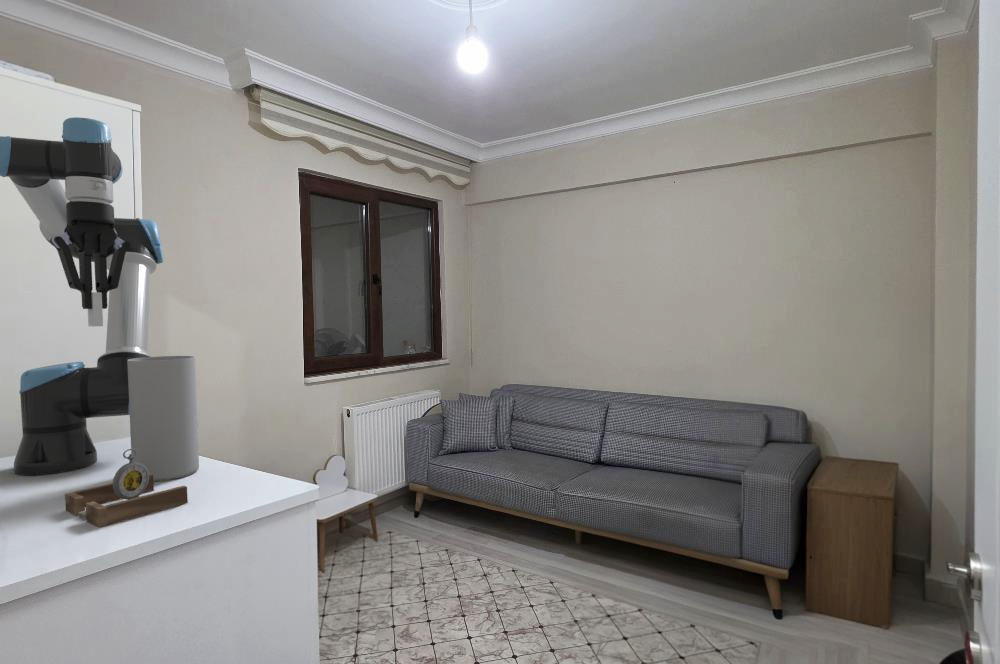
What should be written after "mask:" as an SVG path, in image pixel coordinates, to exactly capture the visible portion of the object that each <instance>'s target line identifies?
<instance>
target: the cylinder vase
mask: <svg viewBox="0 0 1000 664" xmlns="http://www.w3.org/2000/svg"><path fill="white" fill-rule="evenodd" d="M127 363H128V387H129V410H130V415H129V426H130V428H129V431H130V449H134V450H136V452H137V454H136V456H135V457H134V458H133V459H132V461H133V462H139V463H142V464H144V465H145V466H146V468H147V469H148V472H149V475H150V474H151V475H153V482H164V481H169V480H170V481H171V480H176V479H181V478H184V477H187V476H189V475H192V474H194V473H195V472H197V471H198V470H199V467H200V464H199V463H200V457H199V454H200V453H199V452H200V451H199V432H198V430H199V429H198V427H199V426H198V409H197V408H198V402H197V400H198V399H197V398H198V397H197V375H196V372H197V371H196V356H194V355H164V356H163V355H162V356H161V355H160V356H152V357H144V358H134V359H129V360H127ZM130 452H131V453H130V454H132V456H134V455H135V452H134V451H133V450H130ZM137 475H138V474H136V477H137Z"/></svg>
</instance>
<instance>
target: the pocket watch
mask: <svg viewBox="0 0 1000 664" xmlns="http://www.w3.org/2000/svg"><path fill="white" fill-rule="evenodd" d="M131 450H133V451H134V452H135V455H134V456H132V454H131V453H129V455H128V456H126V453H127V452H128V451H131ZM136 454H137V452H136V450H134V449H131V448H129V449H126V450H125V451H124V452H123V453H122V456H123V458H124V459H127V460H129V461H128V463H125V464H123V465H122V466H121V467H119V469H118V470H117V471H116V472H115V475H114V477H113V479H112V483H113V490H114V492H115V494H116V495H117V496H118V497H120V498H121V499H122V500H129V499H133V498H137V497H141V496H142V494H144V493H143V491H144V490H145V489H146V487H147V485H148V481H149V472H148V469H147V468H146V466H145V465H144V464H142V463H139V462H133V461H132V459H133V458H134V457H135V456H136ZM136 474H138V475H137V477H138V478H137V477H136ZM136 480H138V483H136ZM130 482H131V484H130ZM128 483H129V485H127V484H128ZM124 485H125V486H126V487H125V486H124ZM128 486H129V487H130V488H131V490H129V491H128V490H127V487H128ZM132 487H134V488H133V489H132ZM125 488H126V489H125Z"/></svg>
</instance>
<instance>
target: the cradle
mask: <svg viewBox="0 0 1000 664" xmlns="http://www.w3.org/2000/svg"><path fill="white" fill-rule="evenodd" d="M137 478H138V477H137ZM154 482H155V481H153V475H151V474H150V475H149V481H148V485H147V487H146V489H145V490H144V491H143V493H142V494H144V495H140V496H141V497H140V496H139V497H137V498H133V499H129V500H126V499H124V500H122V501H118V502H114V503H110V504H106V505H103V504H105V503H109V502H113V501H117V500H121V499H122V498H120V497H118V496H117V495H116V494H115V492H114V490H113V482H110V483H107V484H102V485H97V486H94V487H89V488H84V489H81V490H80V489H79V490H75V491H71V492H68V493H67V492H66V493H64V503H65V504H64V505H65V506H64V507H65V512H68V513H70V514H71V515H73V516H75V517H78V518H80V519H82V520H84V521H86V522H88V523H90V524H92V525H94V526H96V527H97V528H102V527H106V526H110V525H113V524H117V523H119V522H124V521H127V520H131V519H135V518H138V517H143V516H146V515H149V514H152V513H157V512H160V511H164V510H167V509H171V508H175V507H178V506H182V505H185V504H188V502H189V501H188V486H186V485H181V486H177V487H172V488H169V489H164V490H161V491H158V492H153V491H155V486H154V485H155V484H154ZM136 483H138V480H136ZM130 484H131V482H130ZM127 485H129V483H128V484H127ZM124 486H125V485H124ZM125 487H126V486H125ZM133 488H134V487H132V489H133ZM125 489H126V488H125ZM127 490H128V491H129V490H131V488H130V487H129V486H128V487H127ZM149 492H153V493H149ZM145 493H146V495H145ZM147 493H149V494H147Z"/></svg>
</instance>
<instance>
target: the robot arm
mask: <svg viewBox="0 0 1000 664" xmlns="http://www.w3.org/2000/svg"><path fill="white" fill-rule="evenodd" d="M111 136H112V135H111V128H110V126H109V125H108V124H107V123H105V122H103V121H100V120H97V119H93V118H88V117H87V118H86V117H79V116H78V117H74V116H73V117H68V118H66V119H64V120H63V122H62V135H61V138H62V141H61V140H60V141H59V140H47V139H35V138H24V137H12V136H10V135H7V136H0V177H2V178H6V177H9V179H10V180H11V182H12V183H13V185H14V186H15V188H16V189H17V191H18V192H19V193H20V195H21V196H22V198H23V200H24V201H25V202H26V204H27V205H28V207H29V209H30V210H31V211H32V212H33V214H34V216H35V217H36V219H37V220H38V222H39V225H38V226H39V231H40V232H41V234H42V236H43V238H45V240H46V241H47V242H48V243H49V244H50V245H51V246H53V247H54V248H55V249H56V251H57V254H58V256H59V260H60V263H61V265H62V268H63V269H62V270H63V271H64V275H65V277H66V281H67V285H68V287H69V288H70V289H73V290H77V291H79V292H80V293H81V307H82V309H83V310H87V321H88V322H87V324H88V327H104V317H103V316H104V315H103V313H104V311H103V310H105V309H107V311H108V312H107V321H106V322H107V326H106V337H105V339H106V340H105V341H106V342H105V353H103V354H101V355H100V356H99V357H98V358H97V361H96V366H95V367H85V366H86V365H85V364H84V362H83V361H75V362H67V363H66V362H65V363H59V364H53V365H48V366H42V367H35V368H31V369H27V370H26V371H24V372H23V373H21V375H20V379H19V380H20V382H19V384H20V387H19V388H20V389H19V395H20V412H21V427H22V431H21V432H22V438H21V440H20V442H19V446H18V449H17V452H16V455H15V457H14V461H13V473H14V472H15V474H16V473H17V474H16V475H20V474H24V475H23V476H39V475H49V474H57V473H63V472H65V473H66V472H70V471H73V470H79V469H82V468H86V467H89V466H92V465H94V464H95V463H97V462H98V451H97V449H96V446H95V445H94V442H93V439H92V438H91V436H90V434H89V431H88V428H87V426H88V425H87V419H90V418H93V419H94V418H104V417H105V418H106V417H118V416H119V417H120V416H121V417H122V416H130V410H129V387H128V363H127V360H129V359H134V358H144V357H153V356H151V355H150V354H149V353H148V343H149V342H148V340H149V337H148V334H149V309H150V308H149V305H150V304H149V303H150V302H149V300H150V275H152V274H153V273H154V272H155V271H156V269H157V265H160V264H163V263H164V256H163V249H162V243H161V238H160V232H159V228H158V224H157V223H156V222H155V221H154V220H152V219H146V218H145V219H144V218H139V217H137V218H121V217H115V207H114V206H113V205H112V204H113V203H114V184H115V183H117V182H118V181H119V180H120V179H121V177H122V175H123V165H122V162H121V159H120V157H119V156H118V154H117V152H114V150H113V148H112V141H113V139H112V137H111ZM59 180H61V181H64V188H63V186H62V184H61V182H60V181H59ZM74 258H75V259H78V269H79V271H78V269H77V266H76V264H75V261H74ZM92 263H94V282H95V283H94V284H95V291H94V292H93V266H92Z"/></svg>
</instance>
